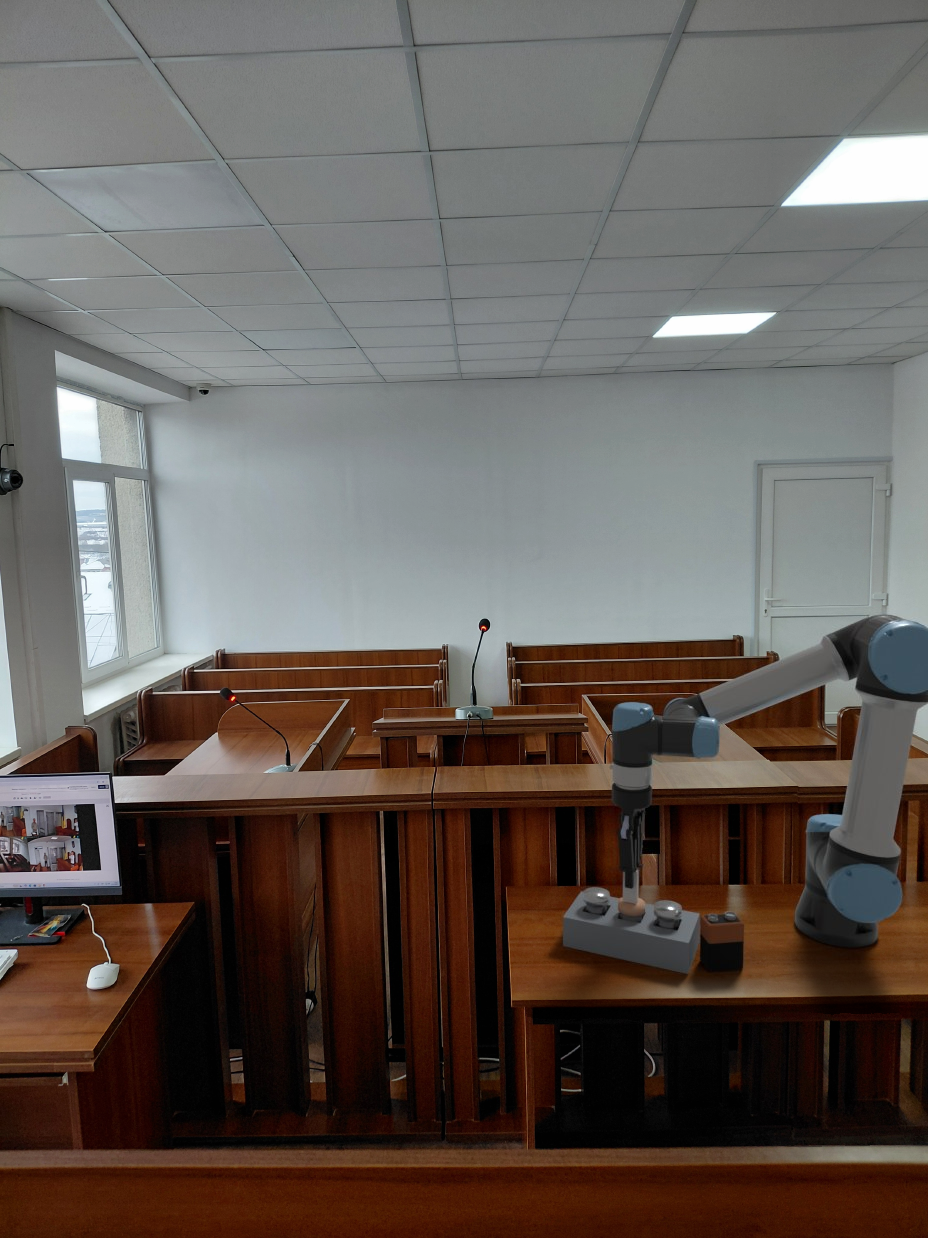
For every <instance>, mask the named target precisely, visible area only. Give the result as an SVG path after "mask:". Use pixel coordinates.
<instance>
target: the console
mask: <svg viewBox="0 0 928 1238" xmlns="http://www.w3.org/2000/svg"><path fill="white" fill-rule="evenodd" d="M583 892H584V890H583V891H582V890H581V891H580V892H579V894H578V895H577V896H576V898H575V899H574V901H573V903H571V905H570V907H569V908H568V909H567V911H566V912H565V914H563V916H562V947H566V948H570V949H575V950H579V951H583V952H587V953H588V952H589V953H592V954H597V955H601V956H606V957H610V958H615V959H618V960H623V961H627V962H632V963H637V964H641V965H647V966H651V967H655V968H659V969H664V970H667V971H668V970H669V971H673V972H677V973H680V974H681V973H682V974H687V975H689V974H690V971H691V968H692V965H693V962H694V960H695V957H696V954H697V952H698V951H697V950H698V947H699V946H700V919H701V914H700V913H699V912H693V911H690V910H683V909H682V917H681V918H680V919H679V923H678V931H677V930H672V929H667V928H662V927H657V917H656V916H655V915H654V904H651V903H646V902H645V913H644V914H642V921H641V923H638V922H633V921H628V920H623V919H621V913H620V912H619V911H618V900H619V899H620V898H621V897H620V898H619V897H614V896H610V902H609V904H608V905H607V913H606V914H605V916H603V915H598V914H593V913H588V912H586V903H585V902H584V901H583Z"/></svg>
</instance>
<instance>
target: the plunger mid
mask: <svg viewBox="0 0 928 1238" xmlns="http://www.w3.org/2000/svg"><path fill="white" fill-rule="evenodd" d="M645 903H646V901H644V899H642V897H641V898H640V897H638V902H637V904H634V903H629V902H624V901H623V896H622V897H620V899H619V900H618V911H619V912H620V913H621V919H623V920H628V921H633V922H638V923H641V921H642V914H644V913H645Z"/></svg>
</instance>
